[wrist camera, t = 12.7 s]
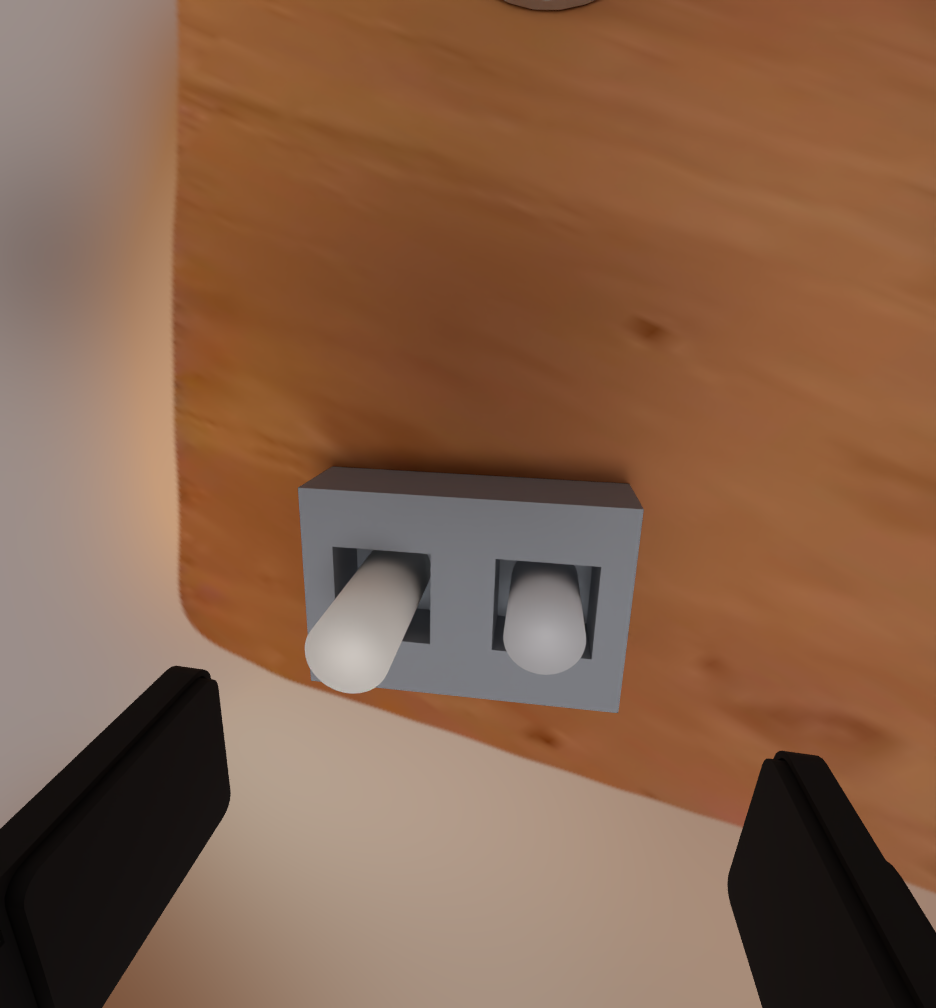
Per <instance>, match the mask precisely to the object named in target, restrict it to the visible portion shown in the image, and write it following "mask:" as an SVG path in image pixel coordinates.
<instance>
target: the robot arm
mask: <svg viewBox="0 0 936 1008" xmlns="http://www.w3.org/2000/svg"><path fill="white" fill-rule="evenodd" d="M504 1H506V2H508V3H510V4H514V5H518V6H522V7H526V8H530V9H534V10H561V9H566V8H571V7H575V6H580V5H585V4H587V3H590V2H592V1H594V0H504ZM229 801H230V784H229V775H228V767H227V759H226V750H225V741H224V733H223V724H222V715H221V707H220V698H219V690H218V684H217V682H216V681H215V680H212V679H211V678H210V674H209V672H208V671H206V670H203V669H195V668H188V667H181V666H173V667H171V668H169V669H168V670H167V671H166V672H164V673H163V674H162V675H161V677H159V678H158V679H157V680H156V681H155V682H154V683H153V684H152V685H151V686H150V687H149V688H148V689H147V690H146V691H145V692H143V694H142V695H140V696H139V697H138V698H137V699H136V700H135V701H134V702H133V703H132V704H131V705H130V706H129V707H128V708H127V709H126V710H125V711H124V712H122V714H120V715H119V716H118V717H117V718H116V719H115V720H114V721H113V722H112V723H111V724H110V725H109V726H108V727H107V728H106V729H105V730H104V731H103V732H102V733H100V734H99V735H98V736H97V737H96V738H95V739H94V740H93V741H92V742H91V743H90V744H89V745H88V746H87V747H86V748H85V749H84V750H83V751H82V752H80V753H79V754H78V755H77V757H75V758H74V759H73V760H72V761H71V762H70V763H69V764H68V765H67V766H66V767H65V768H64V769H63V770H62V771H61V772H60V773H58V774H57V775H56V776H55V777H54V778H53V779H52V780H51V781H50V782H49V783H48V784H47V785H46V786H45V787H44V788H43V789H42V790H41V791H40V792H39V793H38V794H37V795H35V796H34V797H33V798H32V799H31V800H30V801H29V802H28V803H27V804H26V805H25V806H24V807H23V808H22V809H21V810H20V811H19V812H18V813H16V814H15V815H14V816H13V817H12V818H11V819H10V820H9V821H8V822H7V823H6V824H5V825H4V826H3V827H2V828H1V829H0V1008H102V1007H103V1005H104V1004H105V1002H106V1000H107V999H108V997H109V996H110V994H111V993H112V991H113V990H114V988H115V986H116V985H117V983H118V982H119V980H120V979H121V977H122V975H123V974H124V972H125V971H126V969H127V968H128V966H129V964H130V963H131V961H132V960H133V958H134V957H135V955H136V953H137V952H138V950H139V949H140V947H141V946H142V944H143V942H144V941H145V939H146V938H147V936H148V934H149V933H150V931H151V930H152V928H153V927H154V925H155V923H156V922H157V920H158V918H159V917H160V916H161V914H162V912H163V911H164V909H165V908H166V906H167V905H168V903H169V902H170V900H171V898H172V897H173V895H174V894H175V892H176V891H177V889H178V887H179V886H180V884H181V883H182V881H183V879H184V878H185V876H186V875H187V873H188V872H189V870H190V869H191V867H192V865H193V864H194V862H195V861H196V859H197V858H198V856H199V854H200V853H201V851H202V850H203V848H204V847H205V845H206V843H207V842H208V840H209V839H210V837H211V835H212V834H213V832H214V831H215V829H216V828H217V826H218V825H219V823H220V821H221V820H222V818H223V816H224V815H225V813H226V811H227V808H228V805H229ZM728 894H729V899H730V904H731V907H732V910H733V913H734V917H735V920H736V923H737V927H738V930H739V933H740V936H741V940H742V943H743V946H744V949H745V953H746V955H747V958H748V962H749V966H750V969H751V972H752V975H753V979H754V982H755V985H756V988H757V992H758V995H759V998H760V1001H761V1005H762V1008H936V932H935V930H934V929H933V927H932V926H931V924H930V922H929V921H928V919H927V918H926V916H925V914H924V913H923V911H922V910H921V908H920V906H919V905H918V903H917V901H916V900H915V898H914V897H913V895H912V893H911V892H910V890H909V889H908V887H907V885H906V884H905V882H904V881H903V879H902V877H901V876H900V875H899V873H898V872H897V871H896V869H895V868H894V867H893V866H892V865H891V864H890V863H888V862H887V861H886V860H885V858H884V857H883V855H882V854H881V852H880V850H879V849H878V847H877V845H876V844H875V842H874V840H873V839H872V837H871V836H870V834H869V832H868V831H867V829H866V827H865V826H864V824H863V823H862V821H861V819H860V818H859V816H858V814H857V813H856V811H855V809H854V808H853V806H852V805H851V803H850V801H849V800H848V798H847V796H846V795H845V793H844V791H843V790H842V788H841V787H840V785H839V783H838V782H837V780H836V778H835V777H834V775H833V774H832V772H831V770H830V769H829V767H828V765H827V764H826V763H825V761H824V760H823V759H822V758H821V757H819V756H815V755H808V754H801V753H794V752H787V751H779V752H777V753H776V754H775V757H774V759H766V760H765V761H764V762H763V764H762V768H761V771H760V774H759V777H758V781H757V784H756V787H755V790H754V793H753V797H752V800H751V803H750V806H749V810H748V813H747V816H746V819H745V823H744V826H743V829H742V833H741V836H740V839H739V842H738V845H737V849H736V852H735V855H734V858H733V862H732V865H731V868H730V871H729V875H728Z"/></svg>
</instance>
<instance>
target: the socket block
mask: <svg viewBox="0 0 936 1008" xmlns="http://www.w3.org/2000/svg"><path fill="white" fill-rule="evenodd" d="M298 495H299V510H300V525H301V539H302V554H303V569H304V584H305V598H306V613H307V628H308V634H309V632H310V631H311V630H312V628H313V627H314V626H315V624H316V623H317V622H318V620H319V619H320V618H321V617H322V615H323V614H324V613H325V611H326V610H327V609H328V608H329V606H330V605H331V604H332V602H333V601H334V600H335V599H336V597H337V596H338V595H339V593H340V592H341V591H342V590H343V588H344V587H345V586H346V584H347V583H348V582H349V581H350V579H351V578H352V577H353V575H354V574H355V573H356V572H357V570H358V569H359V568H360V566H361V565H362V564H363V563H364V561H365V560H366V559H367V557H368V556H369V555H370V554H371V552H372V551H373V550H383V551H397V552H410V553H423V554H427V555H428V557H429V560H430V563H431V577H430V580H429V582H428V584H427V587H426V589H425V591H424V593H423V595H422V598H421V600H420V602H419V604H418V607H417V609H416V611H415V613H414V615H413V618H412V620H411V622H410V624H409V626H408V629H407V631H406V633H405V635H404V638H403V640H402V642H401V644H400V646H399V649H398V651H397V653H396V655H395V657H394V660H393V662H392V664H391V666H390V669H389V671H388V673H387V675H386V677H385V678H384V680H383V681H382V682H381V683H380V684H379V685H378V686H376V687H377V688H387V689H396V690H405V691H415V692H424V693H434V694H443V695H453V696H462V697H471V698H481V699H490V700H500V701H509V702H519V703H528V704H538V705H547V706H556V707H566V708H575V709H585V710H594V711H604V712H613V713H618V710H619V702H620V694H621V686H622V678H623V670H624V662H625V654H626V646H627V638H628V630H629V622H630V614H631V606H632V598H633V590H634V582H635V574H636V566H637V558H638V551H639V543H640V535H641V527H642V519H643V511H644V509H643V507H642V506H641V504H640V502H639V500H638V498H637V497H636V495H635V493H634V491H633V490H632V488H631V486H630V484H625V483H608V482H590V481H573V480H556V479H538V478H521V477H503V476H486V475H469V474H451V473H434V472H417V471H399V470H382V469H365V468H347V467H331V468H329V469H327V470H326V471H324V472H323V473H321V474H319V475H318V476H316V477H315V478H313V479H311V480H310V481H308V482H306V483H305V484H303V485H302V486H300V487H298ZM310 672H311V681H320V680H319V679H318V678H317V677H316V676H315V675H314V673H313V672H312V671H311V669H310Z"/></svg>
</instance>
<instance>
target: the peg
mask: <svg viewBox="0 0 936 1008" xmlns="http://www.w3.org/2000/svg"><path fill="white" fill-rule="evenodd" d="M430 577H431V563H430V560H429V557H428V555H427V554H423V553H410V552H397V551H383V550H373V551H372V552H371V554H370V555H369V556H368V557H367V559H366V560H365V561H364V563H363V564H362V565H361V566H360V568H359V569H358V570H357V572H356V573H355V574H354V575H353V577H352V578H351V579H350V581H349V582H348V583H347V584H346V586H345V587H344V588H343V590H342V591H341V592H340V593H339V595H338V596H337V597H336V599H335V600H334V601H333V602H332V604H331V605H330V606H329V608H328V609H327V610H326V611H325V613H324V614H323V615H322V617H321V618H320V619H319V620H318V622H317V623H316V624H315V626H314V627H313V628H312V630H311V631H310V632H309V634H308V636H307V639H306V643H305V656H306V660H307V663H308V665H309V667H310V669H311V671H312V672H313V673H314V675H315V676H316V677H317V678H318V679H319V680H320V681H321V682H323V683H324V684H325V685H327V686H329V687H330V688H332V689H335V690H337V691H340V692H345V693H362V692H366V691H369V690H371V689H373V688H375V687H376V686H378V685H379V684H380V683H381V682H382V681H383V680H384V678H385V677H386V675H387V673H388V671H389V669H390V666H391V664H392V662H393V660H394V657H395V655H396V653H397V651H398V649H399V646H400V644H401V642H402V640H403V638H404V635H405V633H406V631H407V629H408V626H409V624H410V622H411V620H412V618H413V615H414V613H415V611H416V609H417V607H418V604H419V602H420V600H421V598H422V595H423V593H424V591H425V589H426V587H427V584H428V582H429V580H430Z"/></svg>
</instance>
